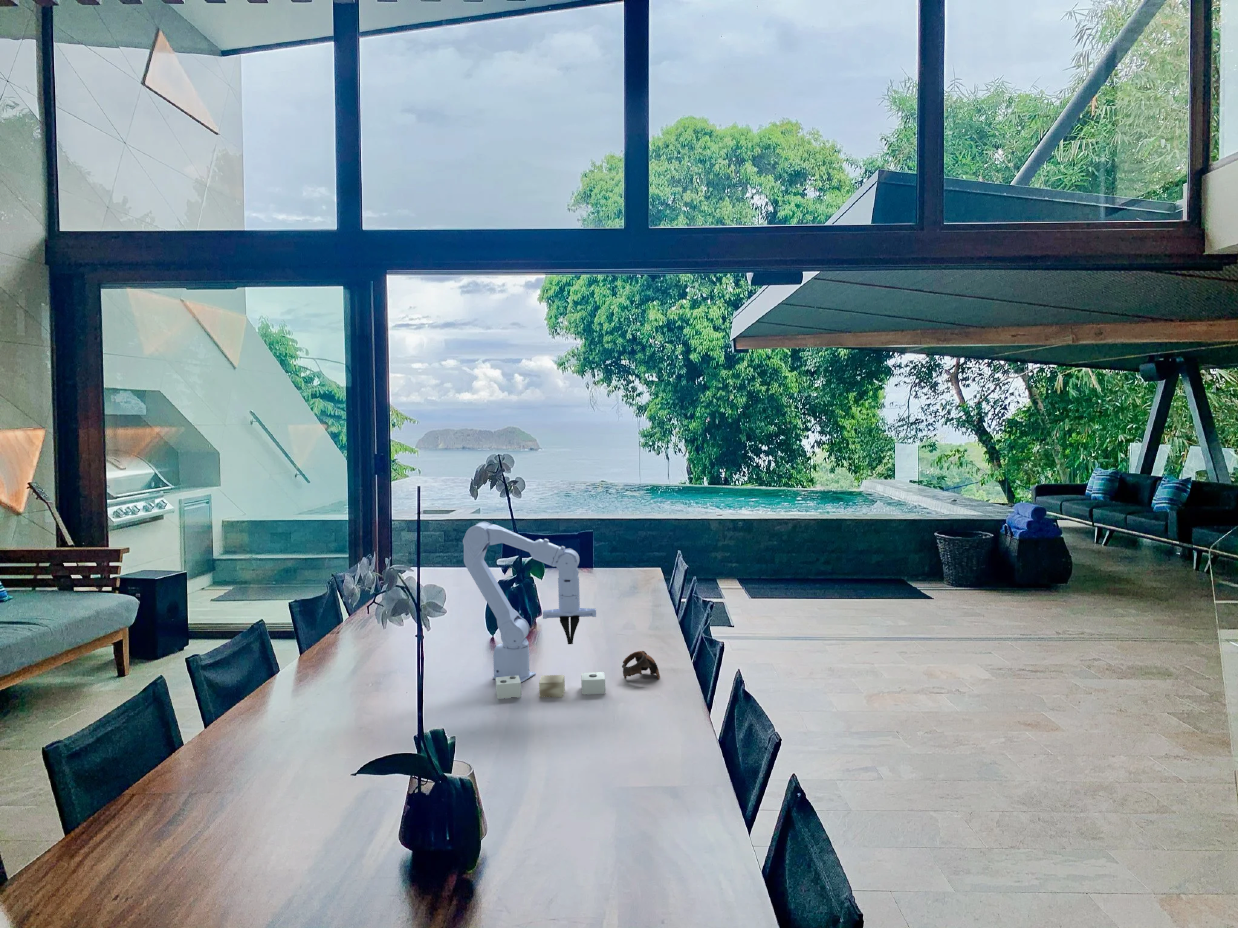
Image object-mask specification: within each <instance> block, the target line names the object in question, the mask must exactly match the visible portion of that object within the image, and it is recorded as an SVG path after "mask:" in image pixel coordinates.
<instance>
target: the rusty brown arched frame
mask: <svg viewBox="0 0 1238 928" xmlns="http://www.w3.org/2000/svg"><path fill="white" fill-rule="evenodd" d="M634 659H635V661H636V663H634V664H633V665H631V666H628V665H629V663H631V661H634ZM621 667H622V675H623V678H624V679H626V678H627V677H632V676H635V675H643V672H642V671H645V672H646V671H647V670H649V672H650V673H649V674H650V675H656V678H657V680H660V679H661V675H660V671H659V668H658V664H657V663H656V661H655V659H654V658H653V657H652V656H651V655H649V654H647V652H646V651H644V650H638V651H635V652H632V653H630V654H629V655H627V656H626V657H625V658H624V659H623V661H622V665H621Z"/></svg>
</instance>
